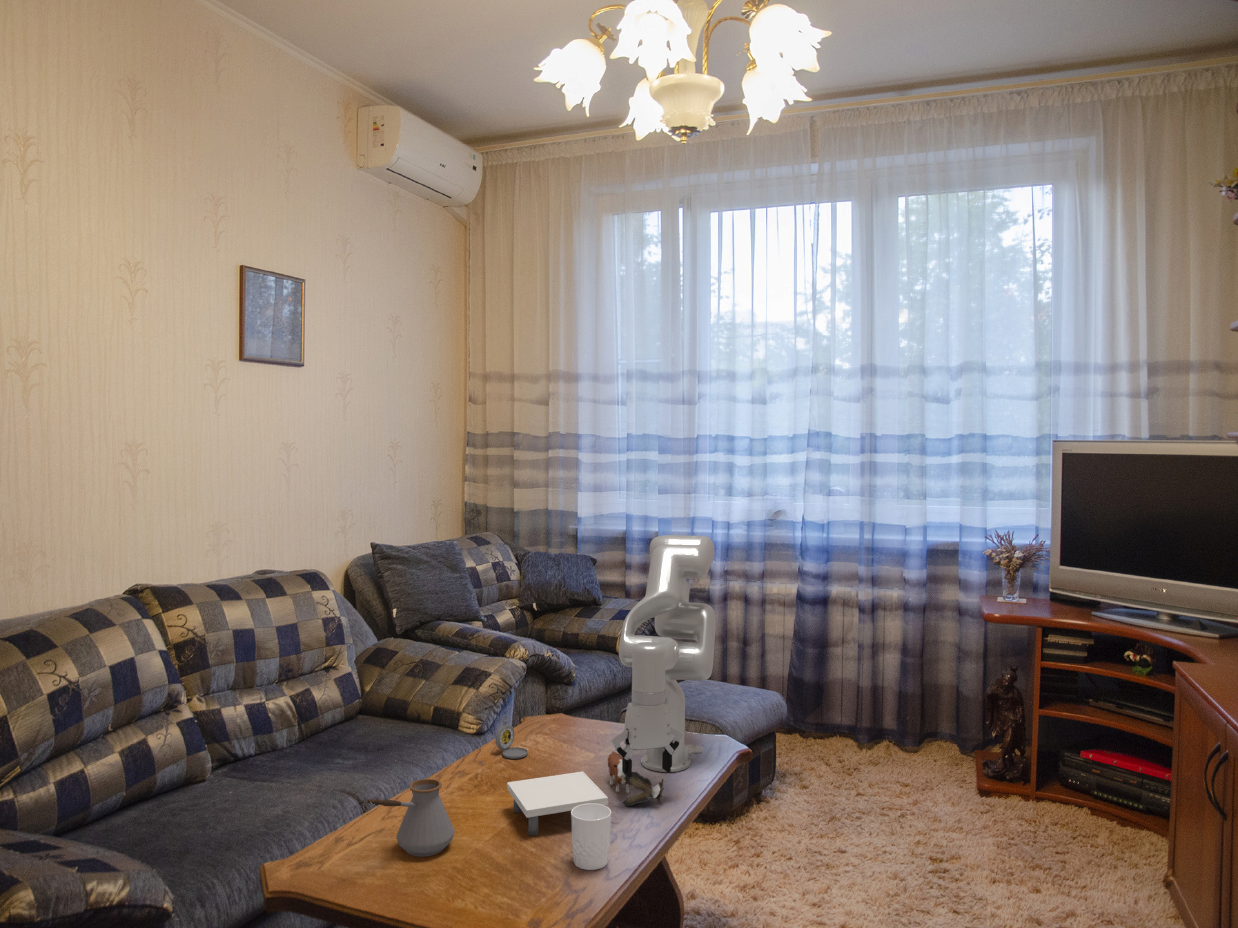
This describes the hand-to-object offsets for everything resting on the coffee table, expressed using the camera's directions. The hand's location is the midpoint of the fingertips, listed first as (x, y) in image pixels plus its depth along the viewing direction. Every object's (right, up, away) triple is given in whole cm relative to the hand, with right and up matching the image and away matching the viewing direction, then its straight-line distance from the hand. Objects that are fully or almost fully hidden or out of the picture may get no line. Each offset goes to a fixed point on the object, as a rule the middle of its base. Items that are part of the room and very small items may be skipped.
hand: (647, 772), depth 195 cm
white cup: (-12, -8, -28) cm, 31 cm away
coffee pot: (-48, -8, -26) cm, 55 cm away
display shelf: (-20, -7, -7) cm, 23 cm away
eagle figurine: (-1, -7, +1) cm, 7 cm away
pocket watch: (-35, -7, +31) cm, 47 cm away
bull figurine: (-6, -7, +8) cm, 13 cm away
